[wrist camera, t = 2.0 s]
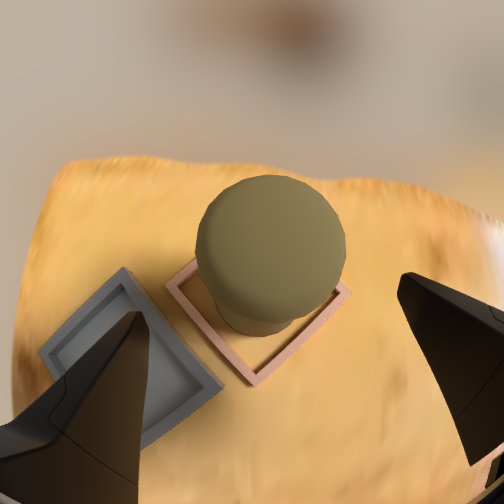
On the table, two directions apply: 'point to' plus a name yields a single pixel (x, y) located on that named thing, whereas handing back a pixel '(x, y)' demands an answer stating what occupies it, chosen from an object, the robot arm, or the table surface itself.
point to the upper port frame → (224, 347)
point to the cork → (269, 253)
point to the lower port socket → (160, 354)
